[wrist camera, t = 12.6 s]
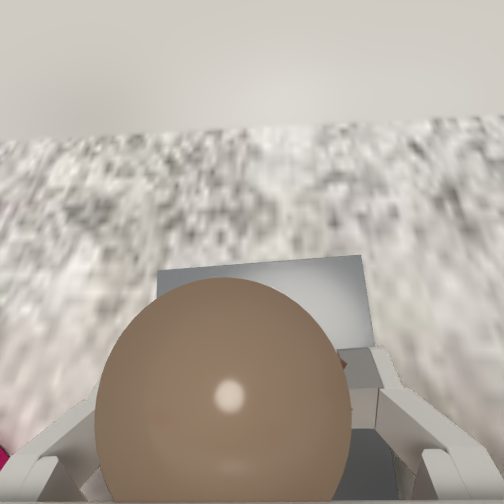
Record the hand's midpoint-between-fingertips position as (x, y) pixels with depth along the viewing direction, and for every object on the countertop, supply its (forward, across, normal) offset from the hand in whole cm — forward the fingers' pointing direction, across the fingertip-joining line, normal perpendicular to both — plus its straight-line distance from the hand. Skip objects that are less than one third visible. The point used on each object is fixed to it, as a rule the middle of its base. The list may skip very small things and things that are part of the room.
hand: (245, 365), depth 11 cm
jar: (+4, 0, +5) cm, 7 cm away
